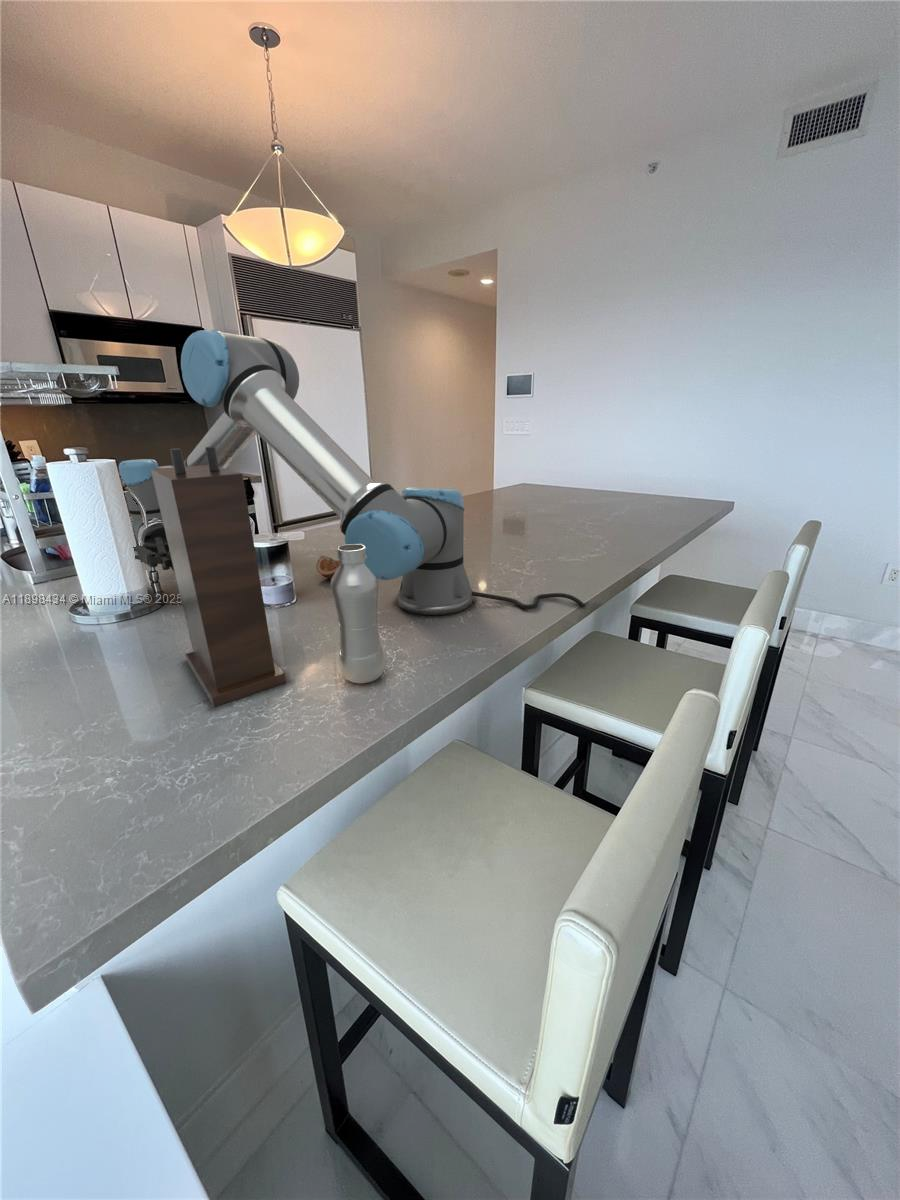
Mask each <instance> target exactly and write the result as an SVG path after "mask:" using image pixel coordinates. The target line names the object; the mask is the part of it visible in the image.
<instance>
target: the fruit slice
mask: <svg viewBox="0 0 900 1200" xmlns="http://www.w3.org/2000/svg"><path fill="white" fill-rule="evenodd" d="M339 566H340V563H339V562H338V561H337V559H333V557H329V556H325V555H320V557H319V559H318V560H317V562H316V566H315V569H316V571H317V573H319V574H320V575H321V576H322V577H324V578H327V579H329V580H331V579H332V577H333V575H334V573H335V572H336V570H337V569H338V567H339Z"/></svg>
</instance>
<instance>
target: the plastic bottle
mask: <svg viewBox="0 0 900 1200" xmlns="http://www.w3.org/2000/svg"><path fill="white" fill-rule="evenodd" d="M336 552H337V558H336V560H337V561H338V562H339V563H340V566H339V567H338V569H337V570H336V572H335V573H334V575H333V577H332V579H330V584H329V589H330V593H331V597H332V600H333V604H334V607H335V611H336V616H337V622H338V628H339V654H338V667H339V669H340V672H341V673H340V674H341V675H342V676H343V677H344V678H345V679H346V680H347V681H348V682H350V683H355V684H366V683H371V682H374V681H376V680H378V679H379V678H380V677H381V676H382V674H383V673H384V671H385V665H386V658H385V654H384V651H383V647H382V644H381V639H380V633H379V626H378V599H379V597H378V595H379V582H378V579H376V576H375V575H374V574H373V572H372V571H371V570H370V568H369V567H368V566H367V565H366V564H365V561H366V560H367V556H366V551H365V546H364V545H360V544H347V545H345V544H342V545H339V546H338V547H337V550H336Z"/></svg>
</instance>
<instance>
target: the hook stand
mask: <svg viewBox="0 0 900 1200" xmlns="http://www.w3.org/2000/svg"><path fill="white" fill-rule="evenodd" d="M205 450H206V455H207V460H208V465H199V466H186V467H185V466H184V461H185V460H184V457H183V451H182V449H181V448H170V449H169V452H170V456H171V460H172V464H173V466H174V467H173V468H160V469H151V473H152V477H153V481H154V486H155V490H156V494H157V499H158V503H159V507H160V511H161V516H162V520H163V524H164V528H165V533H166V537H167V541H168V546H169V550H170V554H171V558H172V563H173V567H174V571H175V572H174V571H173V572H174V576H175V579H176V584H177V587H178V592H179V596H180V601H181V605H182V609H183V613H184V618H185V623H186V626H187V632H188V635H189V639H190V644H191V648H192V651H191V652H188V653H185V658H186V662H187V665H188V666H189V667H190V669H191V671H192V672H193V674H194V676H195V678H196V679H197V681H198V683H199V684H200V686H201V688H202V690H203V691H204V693H205V695H206V697H207V698H208V699H209V701H210V703H211V704H212V706H213V708H216V707H219V706H222V705H225V704H227V703H230V702H233V701H236V700H239V699H242V698H245V697H248V696H251V695H254V694H256V693H260V692H263V691H265V690H268V689H272V688H274V687H277V686H280V685H283V684H286V683H287V679H286V674H285V672H284V671H283V670H282V668H280V666H278V665H277V664H276V662H275V661H274V656H273V650H272V644H271V638H270V632H269V627H268V620H267V615H266V607H265V602H264V596H263V590H262V584H261V578H260V571H259V566H258V565H259V564H258V560H257V554H256V547H255V542H254V535H253V531H252V525H251V524H252V523H251V518H250V511H249V507H248V501H247V495H246V494H247V493H246V488H245V482H244V481H245V480H244V476H243V473H241V472H239V471H234V470H232V469H229V468H226V469H225V468H222V467H219V464H218V458H217V453H216V448H215V447H205Z"/></svg>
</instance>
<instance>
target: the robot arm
mask: <svg viewBox="0 0 900 1200" xmlns="http://www.w3.org/2000/svg"><path fill="white" fill-rule="evenodd" d="M180 369H181V376H182V381H183V383H184V387H185V389H186V391H187V393H188V394H189V396H190V397H191V398H192V399H193V400H194V401H195V402H196V403H198V404H199V405H201V406H205V407H207V408H214V407H218V408H219V409H221V410H222V411H223V412H222V413H221V415H220V416H219V417H218V419H217V420H216V421H215V422H214V423H213V424H212V426H211V427H210V429H209V430H207V432H206V434H205V435H204V436H203V438H201V440H200V441H199V442H198V443H197V444H196V445H195V448H193V450H192V451H191V453H190V454H189V455H188V456H187V458H186V459H185V460H183V461H184V466H185V467H186V466H199V465H208V460H207V455H206V450H205V447H215V448H216V453H217V458H218V464H219V467H222V468H225V469H228V467H229V466H230V464H232V462H233V461H234V460H235V459H236V458H237V457H238V456H239V455H240V454H241V452H242V451H243V450H244V449H245V448H246V447H247V446H248V444H250V443H251V441H253V440H254V438H255V437H256V436H257V435H258V436H259V437H260V438H261V439H262V440H263V441H264V442H265V443H266V444H267V445H268V446H269V447H270V448H271V449H272V450H273V451H274V452H275V453H276V454H277V455H278V456H279V458H281V459H282V460H283V461H284V462H285V463H286V465H288V467H290V468H291V470H293V472H294V473H295V474H296V475H297V476H298V477H299V478H300V479H301V480H302V481H303V482H304V483H305V484H306V485H307V486H308V487H309V488H310V489H311V490H312V491H313V492H314V493H315V494H316V495H317V496H319V498H320V499H321V500H322V501H323V502H324V503H325V504H326V505H327V506H328V507H329V508H330V510H331V511H333V512H334V513H335V514H336V515H337V517H338V518H339V530H340V532H341V533H342V535H344V545H347V544H360V545H364V546H365V551H366V556H367V560H366V561H365V564H366V565H367V566H368V567H369V568H370V570H371V571H372V572H373V574H374V575H375V576H376V579H377V580H381V581H385V580H386V581H387V580H388V581H389V580H395V579H397V578H400V577H402V578H401V580H400V581H399V585H398V592H397V603H398V606H399V607H400V608H401V609H403V610H405V611H407V612H408V613H411V614H416V615H422V616H423V615H424V616H444V615H451V614H455V613H459V612H461V611H463V610H466V609H468V608H469V607H470V606H471V605H472V603H473V597H477V598H484V599H489V600H496V601H502V602H507V603H511V604H513V605H516V606H518V607H519V608H521V609H524V610H529V609H530V610H531V609H535V608H536V607H537V606H538V604H539V600H541V599H550V598H564V599H566V600H567V599H568V600H570V601H572V602H574V603H576V604H577V605H578V606H579V607H581V608H585V607H586V605H585V604H584V602H583V601H582V600H580V599H579V598H577V597H576V596H573V595H571V594H569V593H562V592H552V593H551V592H550V593H542V594H541V593H540V594H538V595H536V596H535V597H534V598H533V603H529V604H526V603H523V602H521V601H519V600H518V599H515V598H511V597H508V596H502V595H495V594H491V593H484V592H478V591H473V590H472V586H471V583H470V581H469V577H468V574H467V572H466V568H465V566H464V533H465V532H464V531H465V530H464V525H465V523H464V522H465V521H464V518H465V517H464V514H465V513H464V512H465V506H464V498H463V494H462V492H461V491H459V490H457V489H453V488H440V487H439V488H438V487H405V488H403V489H402V491H401V494H400V493H399V492H398V491H397V490H396V489H395V488H394V487H393V486H392V485H391V484H390V483H388V482H376V481H374V480H373V479H372V477H371V476H370V475H369V474H368V473H367V472H366V471H365V470H364V469H362V467H360V466H359V464H358V463H357V462H356V461H354V460H353V458H351V456H350V455H348V453H346V451H345V450H344V449H342V447H341V446H340V445H339V444H338V443H337V442H335V440H334V439H333V438H332V437H331V436H330V435H329V434H328V433H327V432H326V431H325V430H324V429H323V428H322V427H321V426H320V425H319V424H318V423H317V422H316V421H315V420H314V419H313V418H312V417H311V416H310V415H309V414H308V413H307V412H306V411H305V410H304V409H303V408H302V407H301V406H300V405H299V404H298V403H297V402H296V401H295V399H296V397H297V393H298V391H299V387H300V372H299V368H298V365H297V363H296V361H295V359H294V358H293V355H292V354H291V353H290V352H289V351H288V350H287V349H286V348H285V347H284V346H283V345H282V344H280V343H279V342H277V341H275V340H273V339H269V338H266V337H258V336H257V337H256V336H249V335H243V334H235V333H230V332H223V331H220V330H218V329H211V330H203V329H202V330H196V331H195V332H192V333H191V334H190V335H189V336H188V337H187V339H186V340H185V342H184V344H183V346H182V350H181V356H180ZM173 467H174V466H173V465H162V466H159V464H158V462H157V460H155V459H152V458H151V459H150V458H142V459H141V458H140V459H139V458H138V459H129V460H122V461H121V462H119V464H118V474H119V477H120V476H121V478H122V479H123V480H124V481H125V483H126V485H127V486H128V487H129V488H130V489H131V490H132V491H134V493H135V494H136V495H137V497H138V498H139V500H140V501H141V503H142V505H143V506H144V508H145V511H146V516H147V520H148V528H146V529H145V525H144V523H143V520H142V517H141V513H140V510H139V508H138V506H137V504H136V502H135V501H134V500H133V498H132V496H131V494H130V493H128V492H126V493H125V494H124V498H125V500H126V504H127V508H128V512H129V513H130V514H129V513H128V514H129V516H130V515H131V517H132V519H133V527H134V530H135V535H136V538H137V540H136V541H137V542H138V543H140V544H139V545H137V544H135V545H136V547H133V548H134V553H135V559H134V560H139V561H140V562H142V563H143V564H145V565H146V566H148V567H149V568H156V567H158V565H161V568H162V571H167V570H170V569H171V570H172V571H173V572H174V573H175V571H174V567H173V563H172V558H171V554H170V552H169V546H168V541H167V537H166V533H165V528H164V524H163V520H162V516H161V511H160V507H159V503H158V499H157V494H156V490H155V486H154V481H153V477H152V473H151V469H160V468H173ZM136 538H135V539H136Z"/></svg>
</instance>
